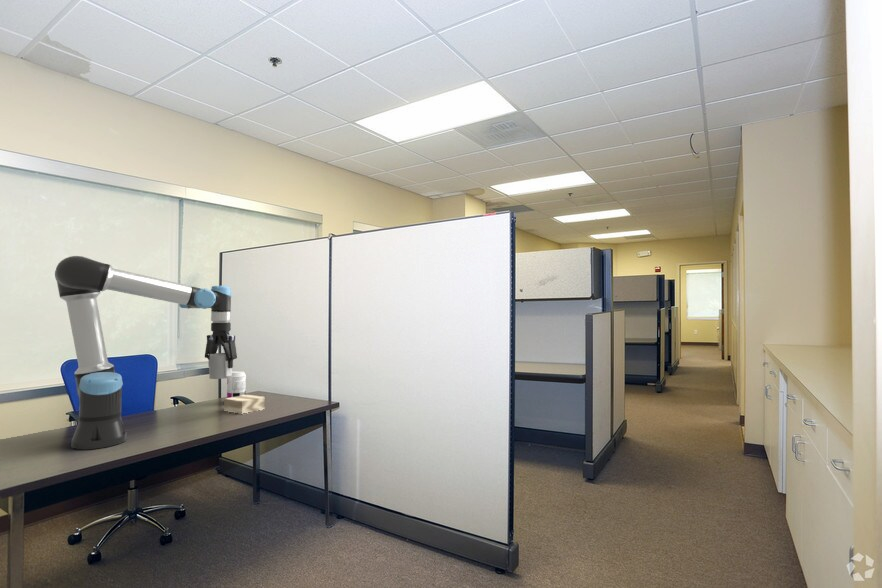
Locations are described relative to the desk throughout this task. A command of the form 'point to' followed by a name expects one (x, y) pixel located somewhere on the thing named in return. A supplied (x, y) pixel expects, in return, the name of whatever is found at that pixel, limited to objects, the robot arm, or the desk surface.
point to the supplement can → (236, 384)
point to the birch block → (244, 403)
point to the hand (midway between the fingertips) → (220, 375)
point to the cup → (218, 366)
